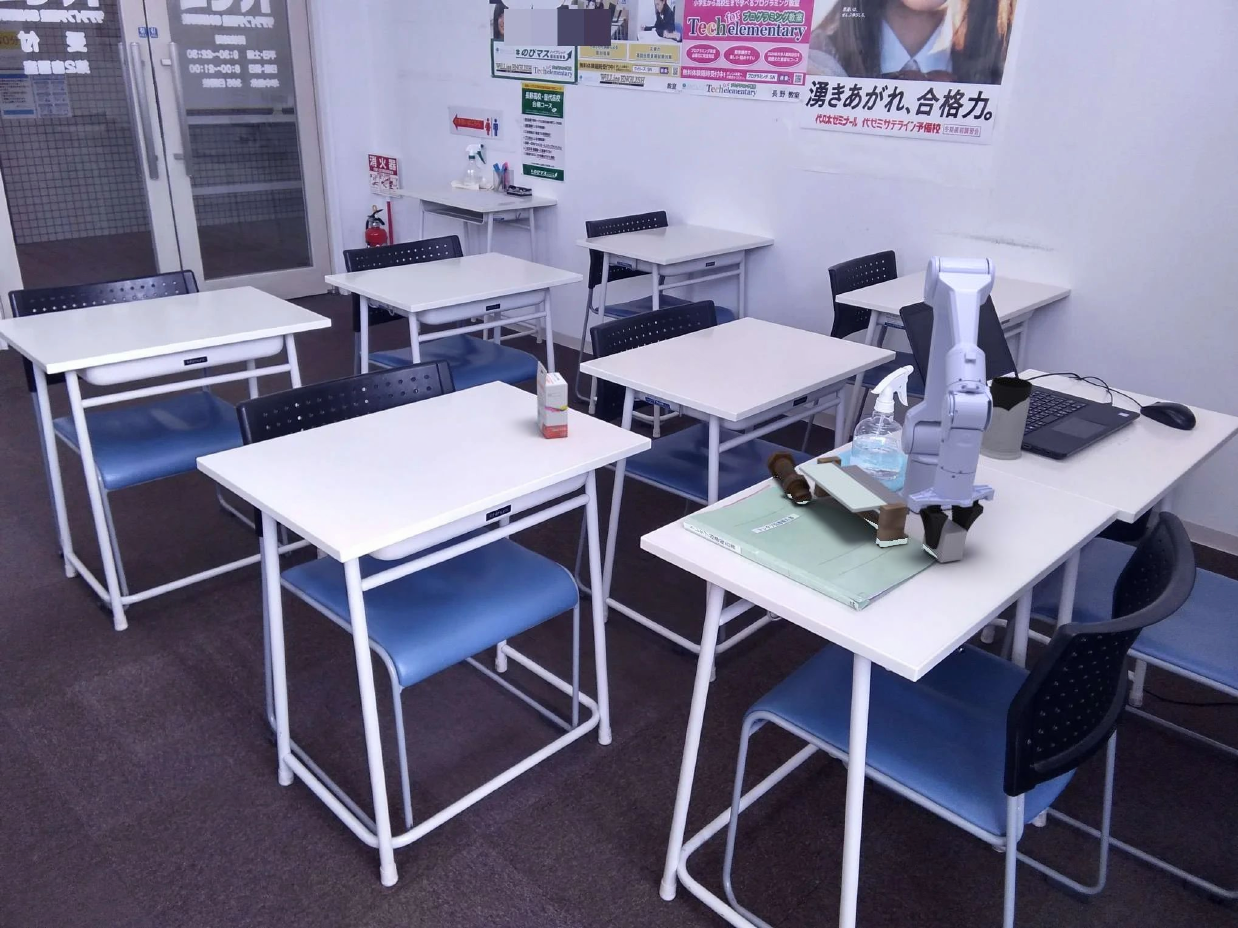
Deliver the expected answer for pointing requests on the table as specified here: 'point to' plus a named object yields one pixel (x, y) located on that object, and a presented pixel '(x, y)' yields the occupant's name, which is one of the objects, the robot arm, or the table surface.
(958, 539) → the grey cube
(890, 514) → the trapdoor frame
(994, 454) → the glass holder
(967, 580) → the table surface
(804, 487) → the bolt
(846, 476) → the trapdoor
